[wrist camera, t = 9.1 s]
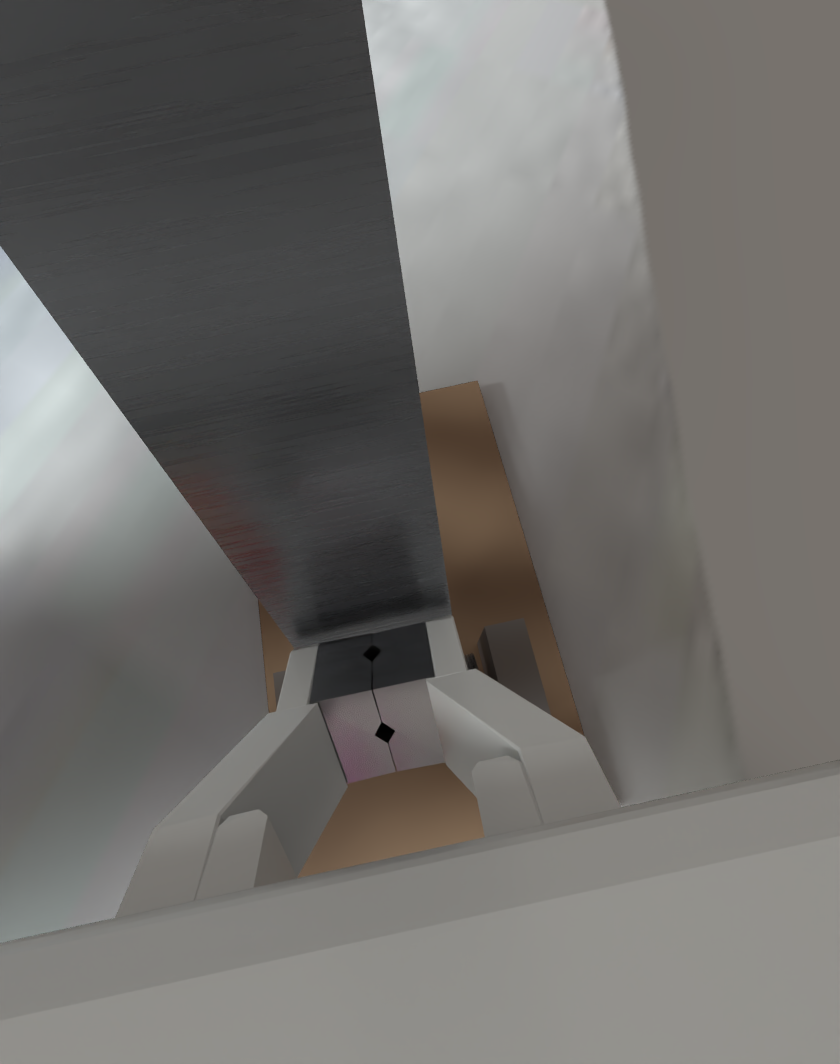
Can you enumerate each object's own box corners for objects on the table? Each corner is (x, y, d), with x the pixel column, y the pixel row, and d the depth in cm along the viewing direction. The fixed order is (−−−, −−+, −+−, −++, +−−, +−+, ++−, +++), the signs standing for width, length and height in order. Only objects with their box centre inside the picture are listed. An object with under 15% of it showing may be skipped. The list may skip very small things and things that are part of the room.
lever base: (602, 813, 17) (659, 854, 12) (293, 884, 17) (232, 952, 12) (476, 391, 23) (483, 311, 18) (248, 439, 23) (197, 371, 18)
